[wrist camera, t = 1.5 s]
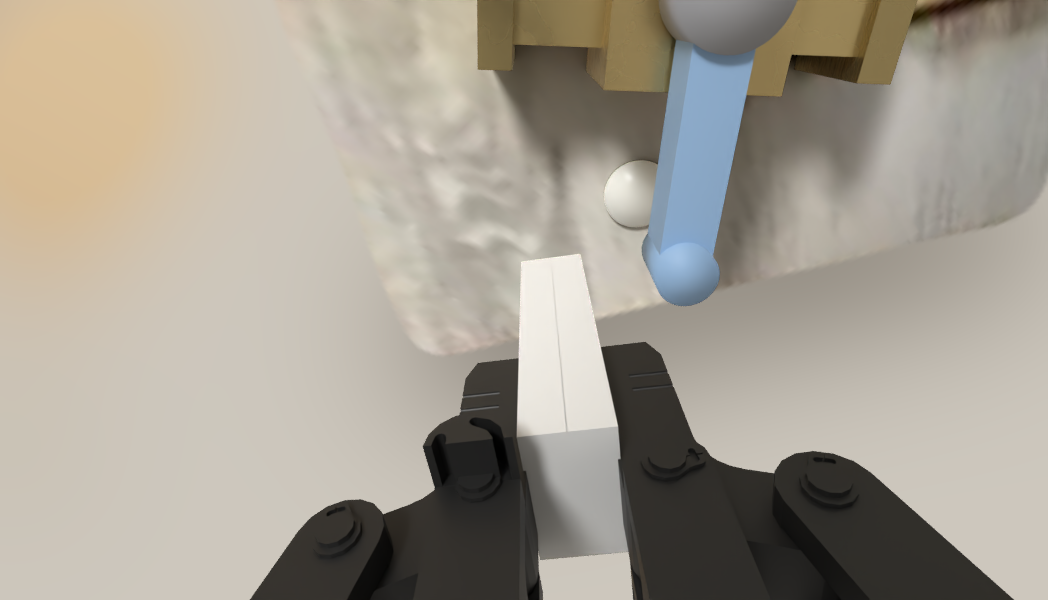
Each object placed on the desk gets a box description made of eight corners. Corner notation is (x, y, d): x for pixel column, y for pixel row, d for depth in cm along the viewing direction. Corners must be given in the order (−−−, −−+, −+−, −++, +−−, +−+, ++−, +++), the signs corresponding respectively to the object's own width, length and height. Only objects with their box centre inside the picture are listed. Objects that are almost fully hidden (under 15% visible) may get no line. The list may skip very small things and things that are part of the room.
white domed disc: (607, 158, 35) (608, 159, 35) (676, 161, 35) (678, 162, 35) (600, 224, 37) (601, 226, 37) (666, 227, 37) (667, 228, 37)
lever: (667, -76, 22) (691, -91, 18) (779, -72, 22) (822, -86, 18) (622, 271, 28) (634, 304, 25) (707, 274, 29) (730, 307, 25)
